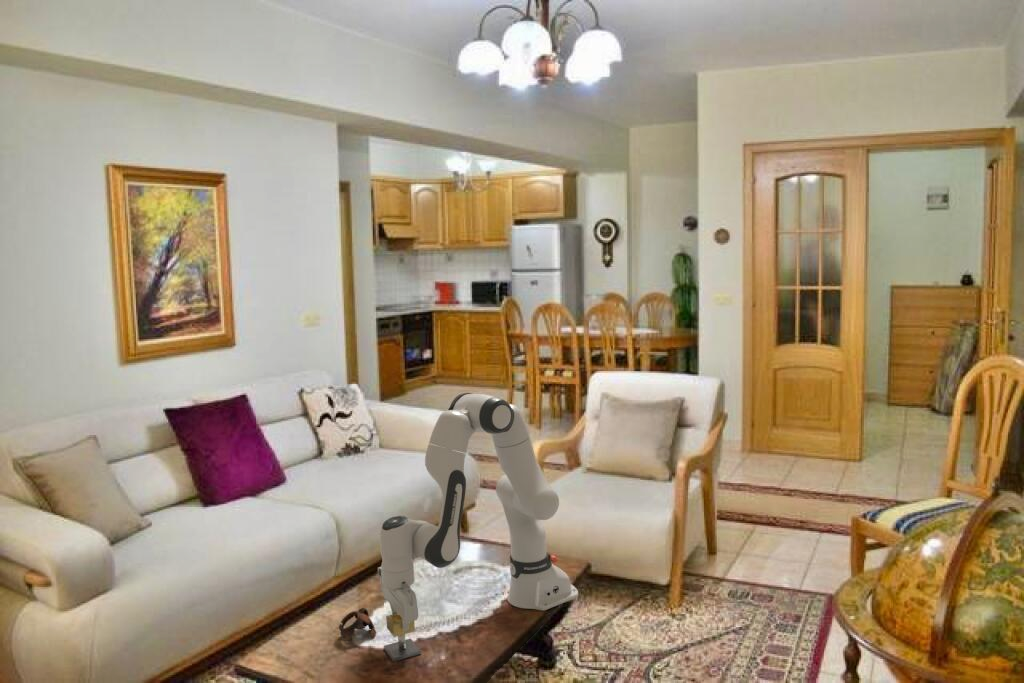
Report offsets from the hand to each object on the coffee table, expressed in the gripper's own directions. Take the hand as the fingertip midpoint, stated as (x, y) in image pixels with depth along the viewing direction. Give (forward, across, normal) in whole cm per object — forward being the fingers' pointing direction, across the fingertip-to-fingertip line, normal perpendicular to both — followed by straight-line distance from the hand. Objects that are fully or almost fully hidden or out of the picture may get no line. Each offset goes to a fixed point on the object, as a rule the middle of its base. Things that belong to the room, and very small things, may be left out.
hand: (400, 623), depth 227 cm
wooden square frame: (+2, 0, 0) cm, 2 cm away
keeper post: (+8, 0, 0) cm, 8 cm away
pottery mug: (+8, +16, +7) cm, 19 cm away
